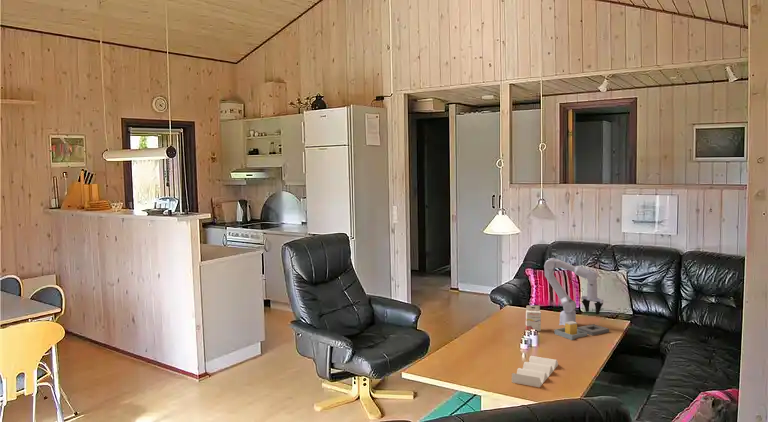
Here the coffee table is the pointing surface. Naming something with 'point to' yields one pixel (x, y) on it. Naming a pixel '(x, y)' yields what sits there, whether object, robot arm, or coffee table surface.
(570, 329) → the block
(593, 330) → the block
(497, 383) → the coffee table surface
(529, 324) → the ink cartridge box
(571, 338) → the parts tray
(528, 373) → the file organizer
